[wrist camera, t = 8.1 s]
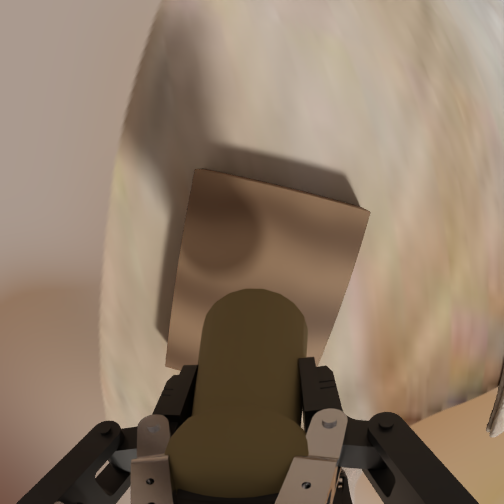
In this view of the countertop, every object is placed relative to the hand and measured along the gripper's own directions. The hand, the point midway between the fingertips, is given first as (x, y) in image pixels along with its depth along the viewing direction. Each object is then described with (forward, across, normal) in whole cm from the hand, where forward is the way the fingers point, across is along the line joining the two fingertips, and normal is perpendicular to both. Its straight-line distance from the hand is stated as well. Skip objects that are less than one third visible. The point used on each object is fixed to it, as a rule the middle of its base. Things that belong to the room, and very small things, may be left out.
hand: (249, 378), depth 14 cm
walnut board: (+11, 0, 0) cm, 11 cm away
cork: (+4, 0, 0) cm, 4 cm away
